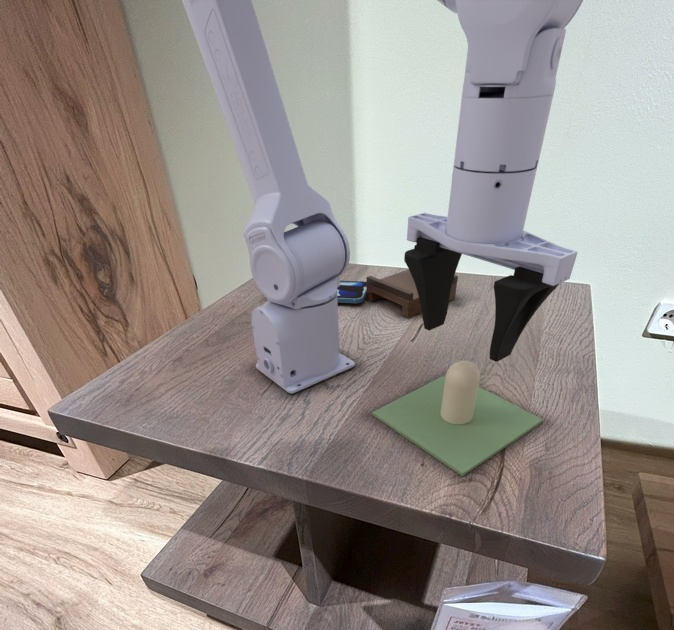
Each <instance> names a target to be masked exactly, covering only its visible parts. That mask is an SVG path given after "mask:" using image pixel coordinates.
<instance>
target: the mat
mask: <svg viewBox="0 0 674 630" xmlns="http://www.w3.org/2000/svg"><path fill="white" fill-rule="evenodd" d="M445 377H446V374H444V375H442V376H440V377H437V378H436V379H433V380H432V381H430V382H429V383H426V384H424V385H422V386H421V387H419V388H416V389H414V390H413V391H411V392H409V393H407V394H405V395H403V396H401V397H399V398H397V399H395V400H393V401H391V402H389V403H387V404H385V405H383V406H381V407H379V408H377V409H376V410H374V411H372V412H371V415H372V416H373V417H374V418H376V419H377V420H379V421H380V422H381V423H383V424H384V425H386V426H388V427H389V428H390V429H392V430H393V431H395V432H396V433H397V434H399V435H401V436H402V437H404V438H405V439H407V440H408V441H409V442H411V443H412V444H414V445H415V446H416V447H418V448H420V449H421V450H422V451H424V452H426V453H427V454H428V455H430V456H431V457H433V458H434V459H436V460H437V461H439V462H440V463H442V464H443V465H444V466H446V467H448V468H449V469H451V470H452V471H453V472H455V473H456V474H458V475H459V476H461V477H464V476H465V475H467V474H469V473H470V472H472V471H473V470H475V468H477V467H479V466H481V464H483V463H485V462H486V461H488V460H489V459H490V458H492V457H494V455H496V454H498V453H499V452H501V451H503V450H504V449H505V448H507V447H508V446H510V445H511V444H513V443H514V442H516V441H517V440H518V439H520V438H521V437H523V436H525V435H526V434H527V433H529V432H530V431H532V430H534V429H535V428H536V427H538V426H540V425H541V424H542V423H543V421H544V419H543V418H541V417H539V416H537V415H535V414H533V413H532V412H530V411H528V410H526V409H523V408H521V407H519V405H518V406H517V405H516V404H514V403H512V402H510V401H507V400H506V399H504V398H502V397H500V396H498V395H496V394H495V393H492V392H490V391H488V390H486V389H485V388H483V387H481V386H479V388H478V393H477V398H476V403H475V408H474V413H473V418H472V420H471V421H470V422H468V423H466V424H460V425H457V424H451V423H449V422H447V421H445V420H444V419H443V418H442V417H441V406H442V399H443V391H444V384H445Z"/></svg>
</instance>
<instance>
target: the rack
mask: <svg viewBox="0 0 674 630" xmlns="http://www.w3.org/2000/svg"><path fill="white" fill-rule="evenodd" d="M366 281H367V290H366V296H365V299H366V301H369V302H371V303H373V302H375V301H378V300H381V299H383V298H384V299H387V300H389V301H391V302H393V303H396V304H398V305H400V306H402V309H401V310H402V311H401V316H402V317H404V318H406V319H410V318H412V317H414V316H417V315H419V314H422V311H421V305H420V300H419V296H418V292H417V288H416V285H415V282H414V280H413V277H412V275H411V272H410V270H409V268H407V269H406V270H403V271H400V272H397V273H394V274H390V275H388V276H385V277H381V278H378V277H375V276H372V275H368V276H366ZM458 281H459V276H458V275H457V274H455V275H454V279H453V282H452V286H451V291H450V297H449V302H451V301H453V300H455V299H456V295H457V286H458Z"/></svg>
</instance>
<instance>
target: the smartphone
mask: <svg viewBox="0 0 674 630" xmlns="http://www.w3.org/2000/svg"><path fill="white" fill-rule="evenodd" d="M366 290H367V280H342V279H340V286H339V287H338V288H337V301H338V304H339V303H340V304H355V305H356V304H357V305H358V304H361V303H363V302H364V300H365V299H366Z"/></svg>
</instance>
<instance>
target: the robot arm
mask: <svg viewBox="0 0 674 630" xmlns="http://www.w3.org/2000/svg"><path fill="white" fill-rule="evenodd" d="M436 1H437V2H438V3H440V4H441V5H443V6H444V7H445V8H447V9H448V10H449V11H451V13H454V14H456V15H457V18H458V21H459V25H460V27H461V29H462V31H463V33H464V35H465V38H466V41H467V51H466V60H465V68H464V77H463V84H462V90H461V99H460V106H459V107H460V109H459V115H458V123H457V124H458V125H457V134H456V142H455V144H456V145H455V151H454V159H453V167H452V175H451V185H450V194H449V201H448V211H447V216H445V215H437V214H432V213H426V212H422V213H418V214H414V215H409V216H408V218H407V233H406V241H408V242H412V243H415V245H413V246H414V247H413V248H412V249H408V250H406V251H405V252H404V257H403V260H404V263H405V265H406V267H407V269H409V270H410V272H411V275H412V277H413V280H414V282H415V285H416V288H417V292H418V296H419V300H420V305H421V311H422V313H421V318H422V323H423V329H425V330H427V331H432V330H435V329H437V328H439V327H441V326H444V324H445V321H446V318H447V315H448V314H447V313H448V309H449V303H450V301H449V297H450V291H451V286H452V282H453V279H454V275H456V272H457V269H458V266H459V263H460V261H461V258H462V255H464V256H468V257H471V258H473V259H478V260H481V261H483V262H488V263H491V264H493V265H497V266H500V267H504V268H506V269H509V270H513V275H512V274H509V275H507V276H505V277H501V278H500V279H497V280H494V283H493V292H494V303H495V310H494V312H495V315H494V326H493V331H492V336H491V342H490V347H489V360H491V361H493V362H495V363H497V362H500V361H501V360H503V359H505V358H507V357H509V356H511V355H512V352H513V351H514V348H515V346H516V344H517V342H518V340H519V338H520V337H521V335H522V333H523V331H524V330H525V328H526V327H527V325H528V324H529V322H530V321H531V319H532V317H533V316H534V315H535V313H536V312H537V311H538V310H539V308H540V307H541V306H542V304H543V303H544V302H545V301H546V300H547V299H548V297H549V296H550V295H551V294H552V293H553V292H554V291H555V290H556V289H557V288H558V287H559V286H560V285H561V284H562V283H565V282H566V281H569V280H570V279H571V275H572V272H573V270H574V269H573V268H574V265H575V262H576V259H577V256H578V251H577V250H574V249H570V248H568V247H567V248H566V247H564V246H561V245H558V244H556V243H553V242H551V241H549V240H547V239H545V238H542V237H540V236H538V235H536V234H533V233H531V232H528V231H527V230H524V229H525V225H526V220H527V215H528V210H529V206H530V201H531V197H532V192H533V187H534V183H535V179H536V174H537V170H538V166H539V162H540V157H541V153H542V148H543V144H544V139H545V135H546V130H547V125H548V122H549V118H550V117H549V116H550V112H551V108H552V104H553V99H554V93H555V90H556V85H557V75H558V74H557V73H558V69H559V66H560V65H559V64H560V59H561V55H562V51H563V45H564V42H565V37H566V33H567V29H566V27H567V26H568V25H569V24H570V22H572V20H573V18H574V17H575V16H576V14H577V13H578V11H579V9H580V7H581V6H582V3H583V1H584V0H436ZM181 2H182V5H183V8H184V10H185V13H186V16H187V18H188V21H189V24H190V27H191V30H192V32H193V35H194V38H195V40H196V43H197V46H198V49H199V52H200V54H201V57H202V60H203V62H204V66H205V68H206V71H207V74H208V77H209V79H210V82H211V85H212V87H213V91H214V93H215V96H216V99H217V102H218V104H219V108H220V110H221V113H222V116H223V119H224V122H225V124H226V126H227V129H228V132H229V135H230V138H231V140H232V143H233V146H234V149H235V152H236V154H237V157H238V160H239V162H240V166H241V168H242V171H243V175H244V177H245V179H246V183H247V185H248V188H249V190H250V193H251V197H252V199H253V201H254V208H253V210H252V211H251V215H250V216H249V219H248V220H247V222H246V225H245V227H244V229H243V232H242V236H243V238H244V241H245V243H246V246H247V249H248V255H249V267H250V272H251V275H252V279H253V281H254V283H255V285H256V287H257V289H258V290H259V291H260V293H262V295H263V296H264V297H265V298H266V301H265V302H264V303H263V304H261V305H259V306H258V307H255V308H254V309H253V310H252V312H251V315H250V326H251V331H252V337H253V342H254V348H255V349H254V350H255V354H256V360H257V363H256V364H255V368H256V369H257V370H258V371H259V372H261V373H262V374H263V375H265V376H266V377H267V378H269V379H270V380H271V381H272V382H274V383H275V384H276V385H278V386H279V387H280V388H282V389H283V390H284V391H285V392H287V393H288V394H295V393H297V392H300V391H302V390H304V389H307V388H308V387H311V386H313V385H317V384H318V383H320V382H323V381H325V380H328V379H329V378H331V377H334V376H336V375H338V374H340V373H343V372H346V371H347V370H350V369H352V368H354V367H355V366H356V362H355V361H354V360H353V359H350V358H349V357H347V356H345V355H344V354H343V353H341V352H340V333H339V332H340V331H339V330H340V329H339V307H338V304H339V303H338V301H337V288H338V287H339V286H340V280H341V278H340V277H341V275H342V274H344V273H345V272H346V270H347V269H348V266H349V264H350V260H351V259H350V258H351V248H350V242H349V240H348V237H347V235H346V233H345V232H344V229H343V228H342V226H340V224H339V223H338V221H337V220H336V218H335V215H334V214H333V210H332V207H331V204H330V201H328V200H327V198H325V196H322V195H321V194H320V193H319V192H317V191H316V190H315V189H314V188H312V186H311V185H309V184H308V180H307V177H306V173H305V171H304V168H303V163H302V161H301V158H300V154H299V151H298V147H297V144H296V142H295V137H294V135H293V131H292V128H291V125H290V121H289V118H288V115H287V112H286V108H285V105H284V102H283V99H282V95H281V92H280V88H279V86H278V82H277V78H276V75H275V73H274V72H275V71H274V69H273V66H272V62H271V60H270V55H269V53H268V50H267V46H266V43H265V40H264V37H263V33H262V30H261V27H260V23H259V21H258V17H257V14H256V11H255V7H254V4H253V0H181ZM290 225H295V226H296V227H294V228H291V229H288V230H287V231H286V228H287V227H288V226H290Z"/></svg>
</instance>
